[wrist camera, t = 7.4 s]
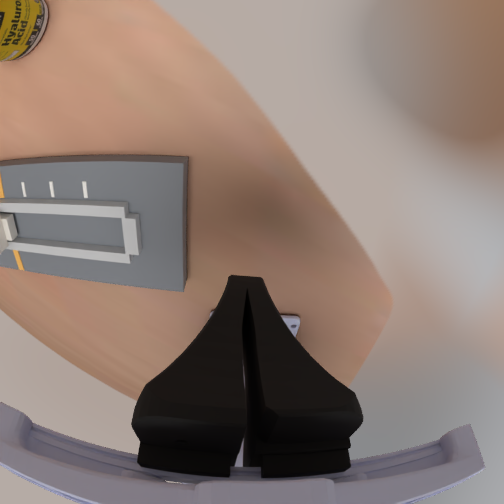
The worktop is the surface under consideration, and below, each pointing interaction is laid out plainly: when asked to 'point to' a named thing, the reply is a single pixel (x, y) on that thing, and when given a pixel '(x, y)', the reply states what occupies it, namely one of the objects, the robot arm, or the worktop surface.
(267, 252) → the worktop surface
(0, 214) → the fader tab
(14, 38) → the supplement bottle
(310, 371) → the robot arm
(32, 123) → the worktop surface
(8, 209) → the console
